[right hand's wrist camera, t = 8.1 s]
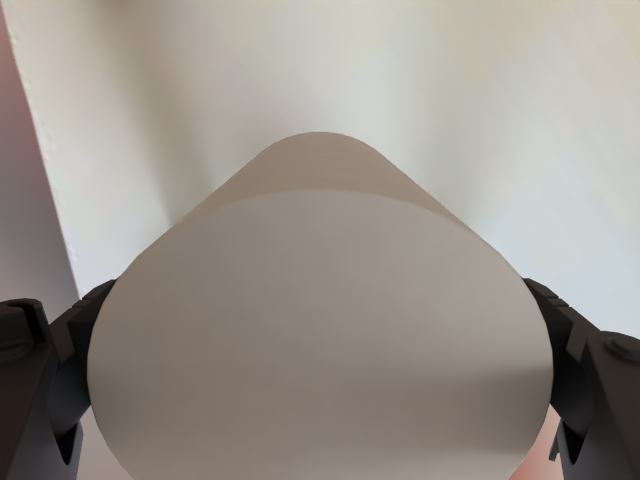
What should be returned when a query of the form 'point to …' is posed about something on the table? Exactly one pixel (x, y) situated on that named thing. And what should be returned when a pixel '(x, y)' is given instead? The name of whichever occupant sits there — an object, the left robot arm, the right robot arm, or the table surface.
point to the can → (320, 334)
